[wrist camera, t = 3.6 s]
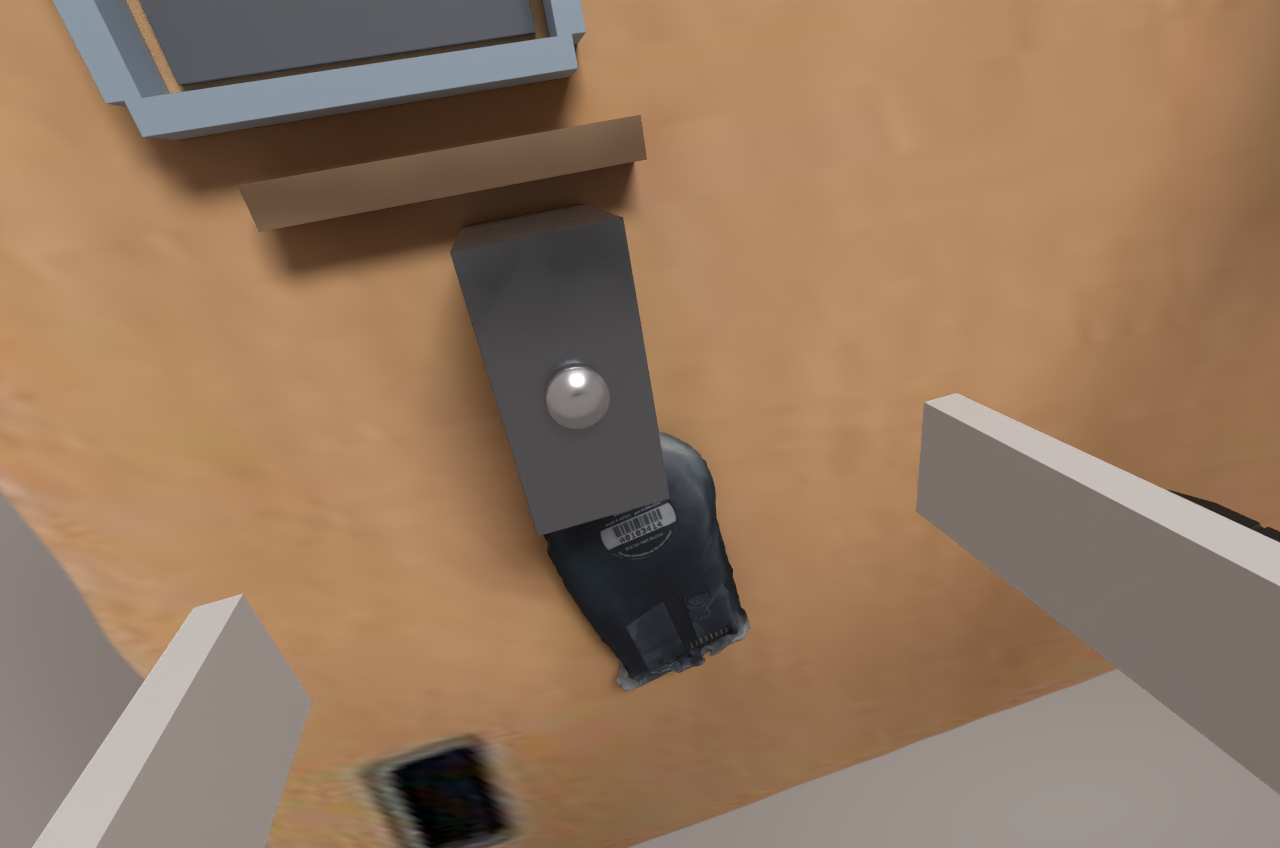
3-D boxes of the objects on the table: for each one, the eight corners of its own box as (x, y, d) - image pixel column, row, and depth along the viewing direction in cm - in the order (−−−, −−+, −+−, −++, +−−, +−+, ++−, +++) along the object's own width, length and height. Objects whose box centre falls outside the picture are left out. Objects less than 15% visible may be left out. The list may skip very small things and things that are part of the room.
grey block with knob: (462, 227, 22) (448, 255, 15) (581, 203, 23) (627, 218, 16) (524, 440, 27) (539, 546, 19) (623, 415, 28) (674, 507, 20)
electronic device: (740, 574, 36) (684, 395, 27) (769, 650, 32) (714, 465, 23) (607, 618, 37) (510, 456, 28) (617, 699, 32) (505, 536, 23)
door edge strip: (260, 184, 20) (237, 185, 18) (628, 119, 22) (640, 115, 20) (278, 227, 21) (258, 231, 19) (634, 160, 23) (646, 159, 21)
